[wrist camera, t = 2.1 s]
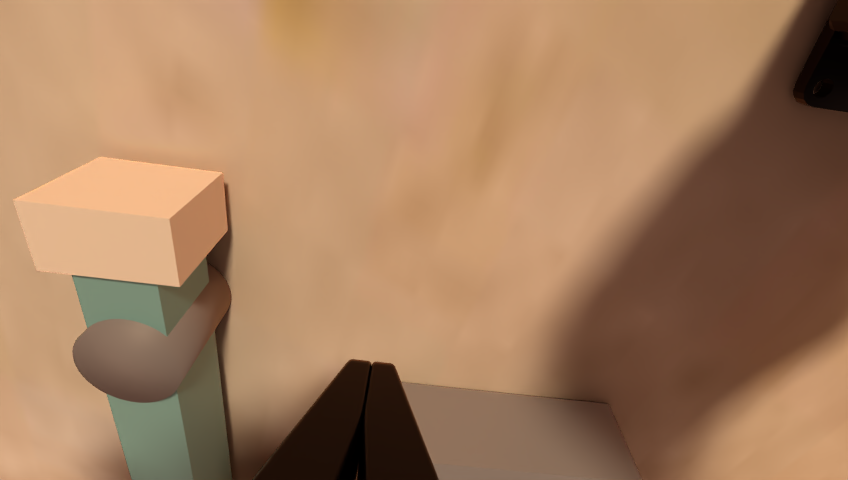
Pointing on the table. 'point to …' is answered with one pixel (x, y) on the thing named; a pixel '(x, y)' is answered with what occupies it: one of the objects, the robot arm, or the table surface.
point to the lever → (144, 303)
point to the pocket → (518, 436)
